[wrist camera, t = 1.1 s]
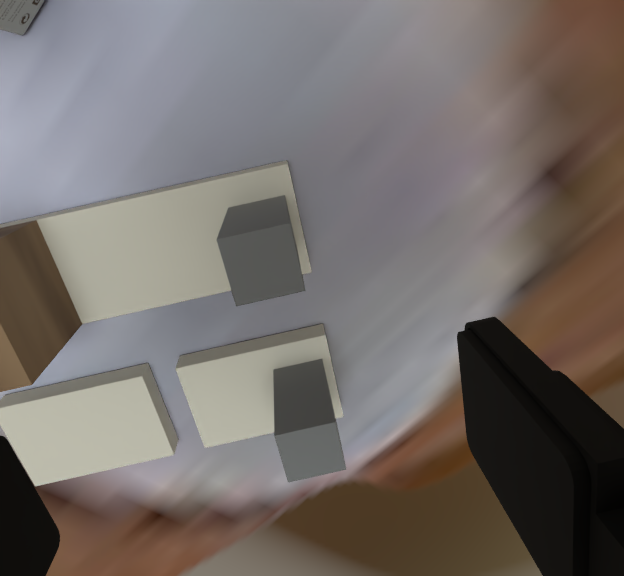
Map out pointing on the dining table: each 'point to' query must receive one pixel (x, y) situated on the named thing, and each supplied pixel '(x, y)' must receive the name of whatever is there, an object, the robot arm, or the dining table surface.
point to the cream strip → (181, 244)
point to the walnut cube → (30, 306)
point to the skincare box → (18, 14)
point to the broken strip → (203, 403)
